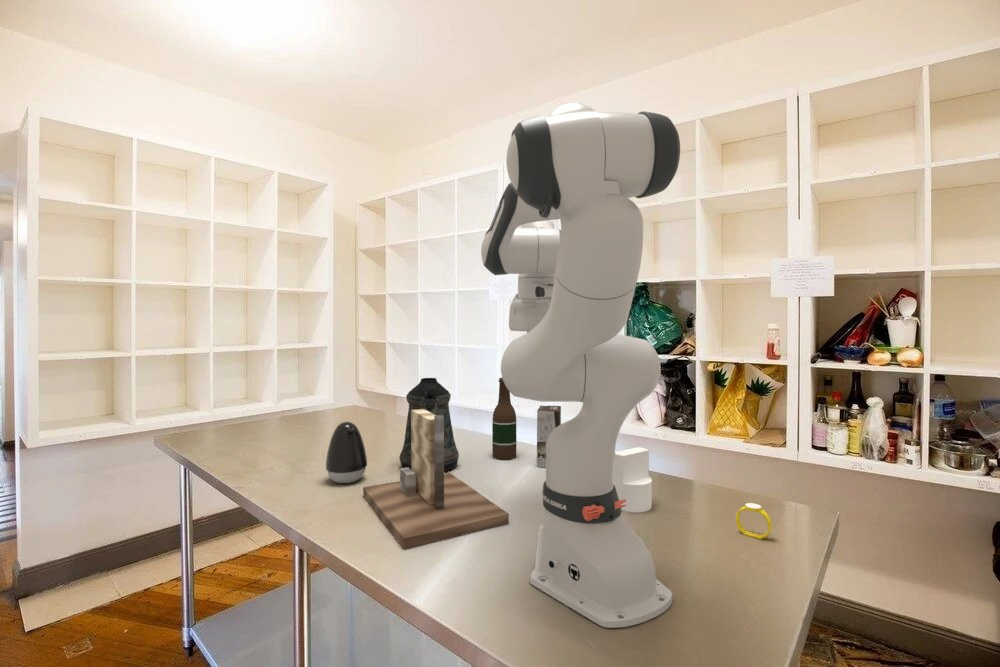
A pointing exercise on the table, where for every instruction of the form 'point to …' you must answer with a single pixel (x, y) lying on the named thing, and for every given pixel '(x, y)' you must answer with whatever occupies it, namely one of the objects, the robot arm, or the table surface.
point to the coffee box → (546, 429)
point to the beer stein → (436, 402)
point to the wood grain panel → (428, 455)
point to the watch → (753, 508)
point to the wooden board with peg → (431, 510)
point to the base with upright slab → (633, 479)
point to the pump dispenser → (346, 454)
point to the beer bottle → (504, 426)
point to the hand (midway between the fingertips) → (536, 351)
